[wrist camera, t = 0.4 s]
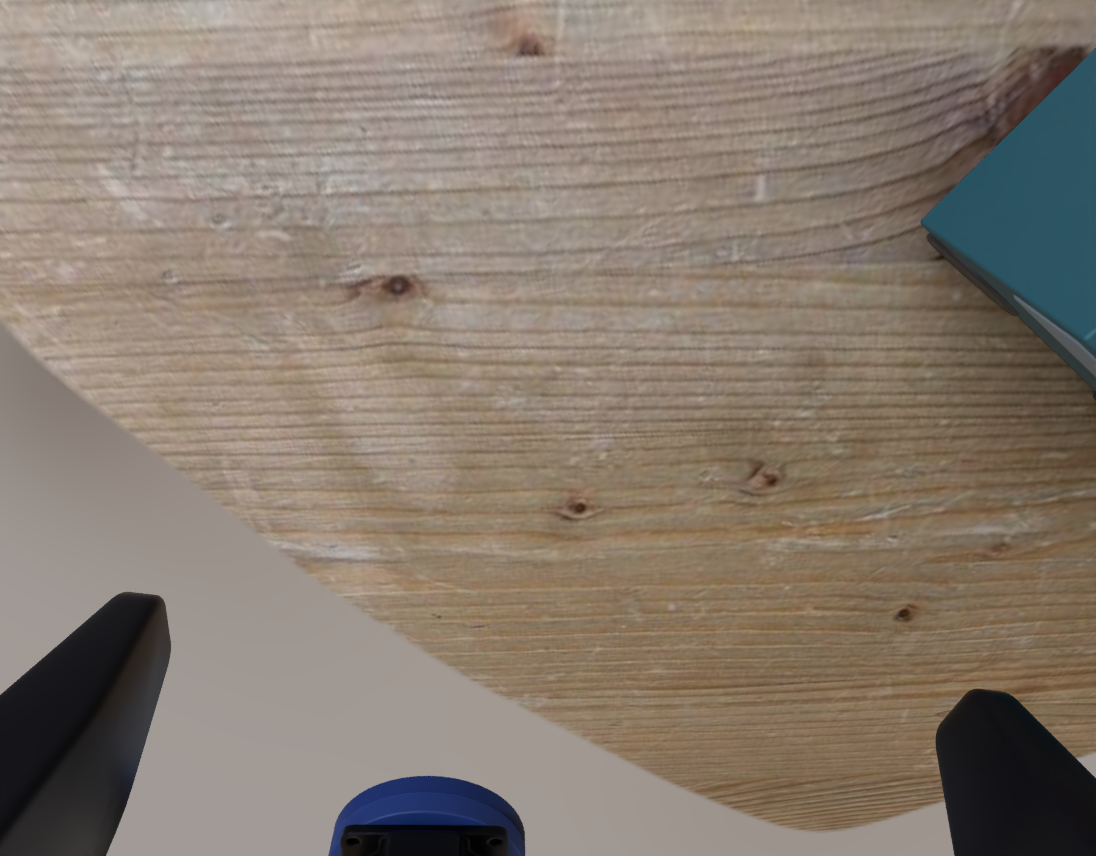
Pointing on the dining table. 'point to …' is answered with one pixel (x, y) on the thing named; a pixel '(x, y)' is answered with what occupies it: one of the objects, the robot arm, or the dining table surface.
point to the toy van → (1035, 221)
